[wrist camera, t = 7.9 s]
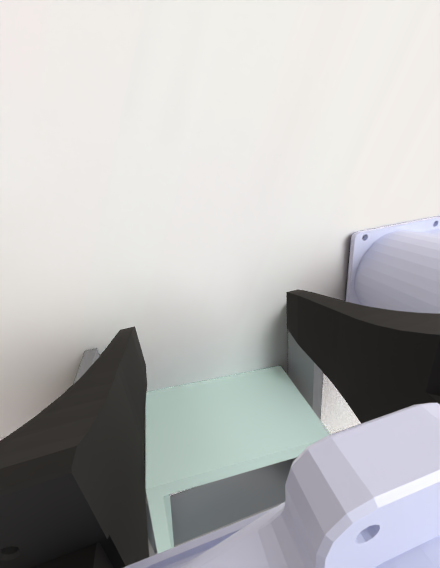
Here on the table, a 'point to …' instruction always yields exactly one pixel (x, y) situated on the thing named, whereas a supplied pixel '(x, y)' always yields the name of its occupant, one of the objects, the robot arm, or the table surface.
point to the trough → (239, 488)
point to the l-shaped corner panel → (220, 434)
